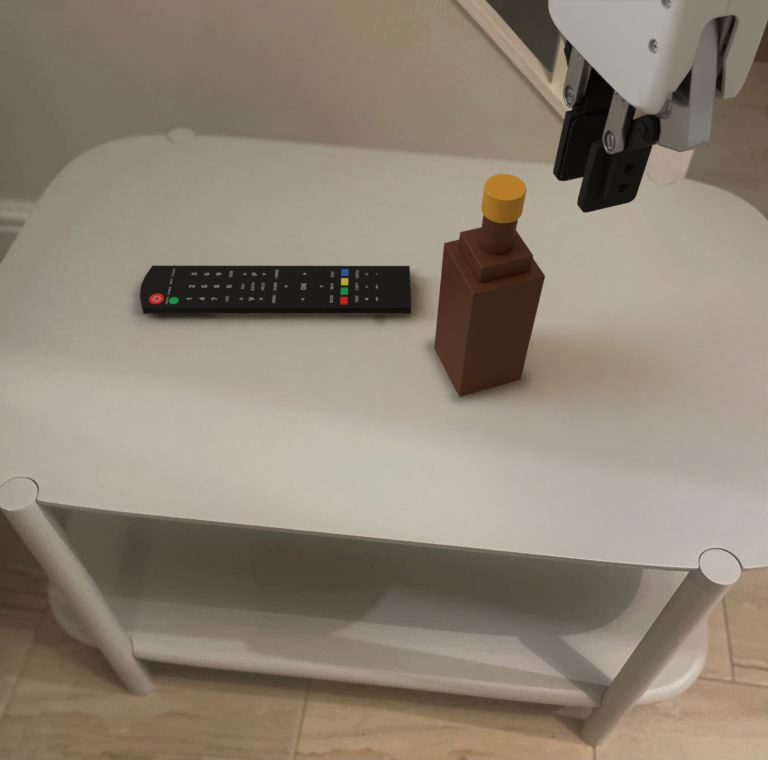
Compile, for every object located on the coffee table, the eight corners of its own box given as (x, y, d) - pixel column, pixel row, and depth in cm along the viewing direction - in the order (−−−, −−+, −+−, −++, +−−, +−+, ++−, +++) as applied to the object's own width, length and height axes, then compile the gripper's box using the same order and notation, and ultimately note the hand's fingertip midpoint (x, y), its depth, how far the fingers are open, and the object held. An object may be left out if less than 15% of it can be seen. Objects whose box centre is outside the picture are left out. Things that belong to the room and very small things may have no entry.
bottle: (520, 379, 66) (562, 203, 52) (459, 397, 65) (483, 221, 50) (493, 332, 69) (525, 154, 55) (433, 348, 68) (450, 169, 54)
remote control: (410, 318, 70) (411, 307, 69) (138, 318, 70) (135, 307, 69) (409, 276, 73) (409, 265, 72) (149, 276, 73) (146, 265, 72)
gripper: (962, -171, 24) (740, 272, 38) (676, -299, 33) (584, 96, 48) (752, -143, 22) (603, 308, 37) (513, -286, 32) (469, 119, 46)
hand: (593, 186), depth 42 cm, fingers closed
